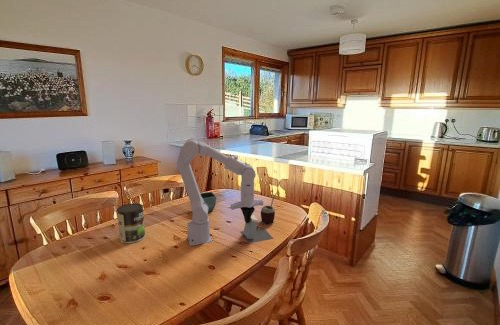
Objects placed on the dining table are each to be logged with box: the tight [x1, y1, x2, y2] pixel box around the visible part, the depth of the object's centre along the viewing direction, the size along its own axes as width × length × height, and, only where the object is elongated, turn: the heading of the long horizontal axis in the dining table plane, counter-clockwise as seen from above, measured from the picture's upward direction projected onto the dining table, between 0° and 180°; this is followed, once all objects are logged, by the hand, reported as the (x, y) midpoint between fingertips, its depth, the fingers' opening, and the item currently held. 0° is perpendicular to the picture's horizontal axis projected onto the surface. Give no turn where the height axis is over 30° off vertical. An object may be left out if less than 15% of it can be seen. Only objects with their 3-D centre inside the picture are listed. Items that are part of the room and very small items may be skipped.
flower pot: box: [200, 191, 217, 212], centre depth 143 cm, size 9×9×9 cm
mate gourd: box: [260, 192, 278, 225], centre depth 129 cm, size 8×8×15 cm
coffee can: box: [116, 202, 146, 244], centre depth 112 cm, size 10×10×14 cm
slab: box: [242, 214, 259, 239], centre depth 115 cm, size 3×6×9 cm, turn 22°
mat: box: [239, 227, 275, 244], centre depth 117 cm, size 12×11×1 cm
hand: (247, 222), depth 114 cm, fingers closed
